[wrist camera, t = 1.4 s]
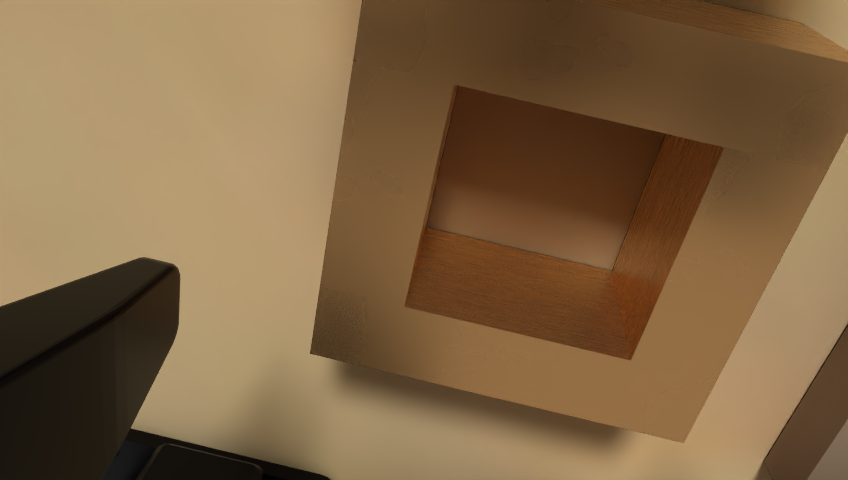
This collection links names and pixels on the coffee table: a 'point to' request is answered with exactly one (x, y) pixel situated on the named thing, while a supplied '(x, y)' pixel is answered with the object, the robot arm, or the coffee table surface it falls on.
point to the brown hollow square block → (650, 227)
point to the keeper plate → (817, 427)
